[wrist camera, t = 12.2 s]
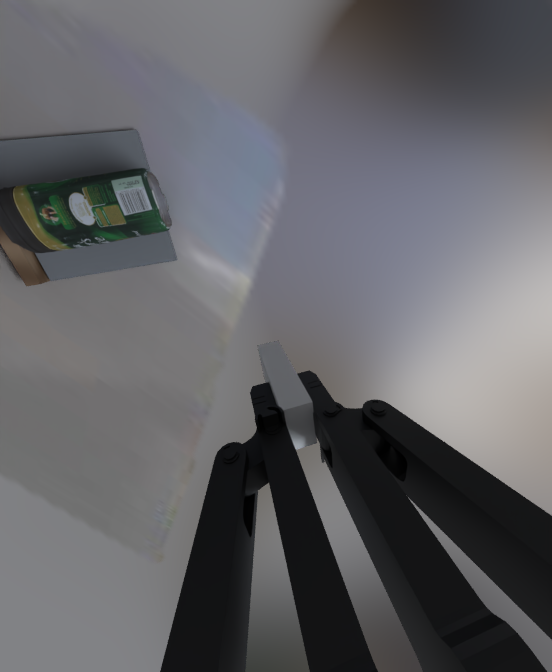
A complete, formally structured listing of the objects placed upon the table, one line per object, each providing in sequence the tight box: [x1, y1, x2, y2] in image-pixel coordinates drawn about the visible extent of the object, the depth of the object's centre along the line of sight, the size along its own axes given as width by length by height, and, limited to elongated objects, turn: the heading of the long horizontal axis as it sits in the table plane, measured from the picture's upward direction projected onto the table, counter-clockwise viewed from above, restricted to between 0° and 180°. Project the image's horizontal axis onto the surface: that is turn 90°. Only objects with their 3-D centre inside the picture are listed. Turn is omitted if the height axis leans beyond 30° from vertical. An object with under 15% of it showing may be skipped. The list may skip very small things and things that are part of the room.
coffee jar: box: [0, 168, 172, 253], centre depth 33 cm, size 10×8×19 cm
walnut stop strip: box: [0, 226, 50, 286], centre depth 34 cm, size 18×2×2 cm, turn 8°
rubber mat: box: [0, 130, 177, 281], centre depth 37 cm, size 18×20×1 cm
